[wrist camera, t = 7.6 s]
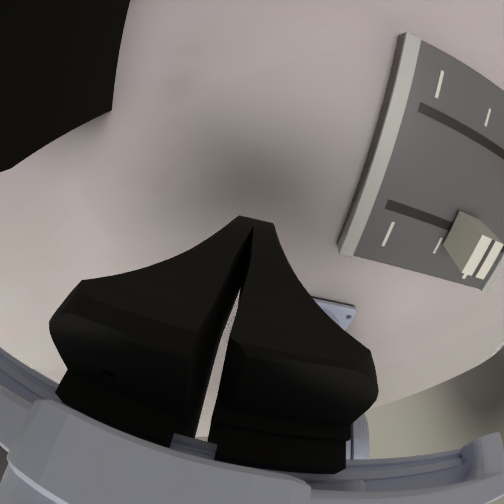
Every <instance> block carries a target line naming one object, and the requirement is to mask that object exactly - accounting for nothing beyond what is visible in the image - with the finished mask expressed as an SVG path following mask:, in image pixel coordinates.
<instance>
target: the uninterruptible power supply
mask: <svg viewBox="0 0 504 504" xmlns="http://www.w3.org/2000/svg"><path fill="white" fill-rule="evenodd" d="M129 3H130V0H0V172H2V171H5V170H8V169H10V168H12V167H14V166H15V165H16V164H18V163H19V162H21V161H22V160H24V159H25V158H27V157H28V156H30V155H31V154H33V153H34V152H36V151H37V150H39V149H41V148H42V147H44V146H45V145H47V144H49V143H50V142H52V141H54V140H55V139H57V138H59V137H60V136H62V135H64V134H66V133H68V132H69V131H71V130H73V129H75V128H77V127H79V126H80V125H82V124H84V123H86V122H88V121H90V120H92V119H94V118H96V117H98V116H100V115H102V114H104V113H107V112H109V111H111V110H112V102H113V92H114V83H115V76H116V68H117V62H118V56H119V50H120V44H121V39H122V34H123V29H124V24H125V20H126V15H127V11H128V7H129Z"/></svg>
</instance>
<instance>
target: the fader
mask: <svg viewBox="0 0 504 504" xmlns="http://www.w3.org/2000/svg"><path fill="white" fill-rule="evenodd" d="M503 245H504V244H503V243H502V242H501V241H500V240H499V239H498V237H497V236H496V235H495V234H494V233H493V232H492V231H491V230H490V229H489V228H488V227H487V226H486V225H485V224H484V223H483V222H482V221H481V220H480V219H477V218H475V217H473V216H471V215H469V214H466V213H464V212H462V211H459V213H458V215H457V217H456V219H455V222H454V224H453V226H452V228H451V230H450V232H449V234H448V236H447V238H446V240H445V242H444V244H443V246H444V247H445V249H446V250H447V252H448V253H449V255H450V256H451V257H452V259H453V261H454V262H455V264H456V265H457V267H458V268H459V270H460V271H461V273H464V274H467V275H470V276H472V277H477V278H480V279H483V280H484V278H485V276H486V275H487V273H488V271H489V270H490V268H491V266H492V265H493V263H494V261H495V259H496V258H497V256H498V254H499V252H500V250H501V249H502V247H503Z"/></svg>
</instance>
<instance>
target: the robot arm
mask: <svg viewBox="0 0 504 504" xmlns="http://www.w3.org/2000/svg"><path fill="white" fill-rule="evenodd" d="M240 287H241V288H240ZM239 290H240V295H239V302H238V309H237V313H236V316H235V320H234V323H233V326H232V330H231V333H230V336H229V341H228V346H227V351H226V356H225V361H224V365H223V370H222V375H221V380H220V385H219V390H218V395H217V399H216V403H215V407H214V411H213V415H212V419H211V426H210V431H209V436H208V442H206V441H202V440H198V439H195V435H196V431H197V427H198V423H199V419H200V415H201V411H202V407H203V403H204V399H205V395H206V391H207V388H208V384H209V380H210V376H211V372H212V368H213V365H214V361H215V357H216V354H217V350H218V346H219V343H220V340H221V337H222V334H223V331H224V329H225V326H226V323H227V321H228V318H229V316H230V313H231V311H232V308H233V305H234V303H235V300H236V298H237V295H238V293H239ZM355 314H356V308H355V307H353V306H349V305H344V304H339V303H334V302H329V301H324V300H320V299H315V298H312V297H311V296H310V295H309V293H308V292H307V291H306V290H305V288H304V287H303V285H302V284H301V282H300V281H299V280H298V278H297V276H296V275H295V273H294V271H293V270H292V268H291V266H290V264H289V262H288V260H287V258H286V256H285V254H284V252H283V249H282V247H281V245H280V242H279V239H278V236H277V233H276V230H275V226H274V224H273V223H270V222H265V221H261V220H257V219H252V218H248V217H243V216H238V217H236V218H235V219H234V220H232V221H231V222H230V223H229V224H227V225H226V226H225V227H224V228H222V229H221V230H220V231H218V232H217V233H215V234H214V235H213V236H211V237H210V238H208V239H207V240H205V241H203V242H202V243H200V244H198V245H197V246H195V247H193V248H192V249H190V250H188V251H186V252H184V253H182V254H180V255H177V256H175V257H173V258H170V259H168V260H165V261H162V262H159V263H157V264H154V265H151V266H148V267H145V268H142V269H138V270H135V271H131V272H127V273H122V274H118V275H113V276H107V277H101V278H95V279H89V280H82V281H81V282H80V283H79V284H78V285H77V286H76V287H75V288H74V289H73V290H72V292H71V293H70V294H69V295H68V297H67V298H66V299H65V300H64V302H63V303H62V304H61V305H60V307H59V308H58V309H57V311H56V312H55V313H54V315H53V316H52V318H51V319H50V321H49V330H50V334H51V337H52V340H53V342H54V344H55V346H56V348H57V350H58V352H59V354H60V356H61V358H62V360H63V361H64V363H65V365H66V367H67V369H68V370H67V372H66V373H65V375H64V377H63V379H62V380H61V382H60V384H57V383H55V382H53V381H51V380H50V379H48V378H46V377H44V376H43V375H41V374H39V373H38V372H36V371H34V370H33V369H31V368H30V367H28V366H27V365H25V364H23V363H22V362H20V361H19V360H17V359H16V358H14V357H13V356H11V355H10V354H9V353H7V352H6V351H4V350H3V349H1V348H0V445H1V446H2V447H3V448H4V449H5V450H6V451H7V452H8V455H7V460H8V462H9V464H8V466H7V468H6V471H5V473H4V476H3V478H2V480H1V483H0V504H489V503H491V502H492V501H495V500H496V499H498V498H500V497H502V496H504V451H503V446H502V441H501V437H500V433H498V432H497V433H493V434H489V435H485V436H481V437H478V438H476V439H474V440H472V441H470V442H469V443H467V444H466V445H464V446H463V447H462V448H461V449H457V450H452V451H446V452H440V453H434V454H427V455H419V456H411V457H400V458H387V459H369V431H368V423H367V418H366V415H365V414H364V413H365V412H366V411H367V410H368V409H369V408H370V407H371V406H372V405H373V403H374V402H375V401H376V399H377V396H378V392H379V391H378V384H377V376H376V370H375V366H374V362H373V359H372V355H371V351H370V350H369V349H367V348H366V347H365V346H364V345H362V344H361V343H360V342H358V341H357V340H356V339H355V338H353V337H352V336H351V335H349V334H348V333H347V332H346V330H347V328H348V326H349V325H350V323H351V321H352V319H353V318H354V316H355ZM347 315H349V316H347Z"/></svg>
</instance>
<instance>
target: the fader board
mask: <svg viewBox="0 0 504 504" xmlns="http://www.w3.org/2000/svg"><path fill="white" fill-rule="evenodd" d="M459 211H462V212H464V213H466V214H469V215H471V216H473V217H475V218H477V219H480V220H481V221H482V222H483V223H484V224H485V225H486V226H487V227H488V228H489V229H490V230H491V231H492V232H493V233H494V234H495V235H496V236H497V237H498V239H499V240H500V241H501V242H502V243H503V244H504V91H503V90H502V89H501V88H499V87H498V86H497V85H495V84H494V83H492V82H491V81H490V80H488V79H487V78H485V77H484V76H482V75H481V74H479V73H478V72H476V71H475V70H473V69H472V68H470V67H469V66H467V65H466V64H464V63H462V62H461V61H459V60H457V59H456V58H454V57H452V56H450V55H449V54H447V53H445V52H443V51H442V50H440V49H438V48H436V47H434V46H432V45H430V44H428V43H426V42H424V41H422V40H421V38H419V37H417V36H415V35H412V34H410V33H408V32H406V33H403V34H401V35H399V37H398V42H397V47H396V52H395V56H394V61H393V65H392V70H391V74H390V78H389V82H388V86H387V90H386V94H385V98H384V102H383V105H382V109H381V113H380V116H379V120H378V123H377V127H376V130H375V134H374V137H373V140H372V144H371V147H370V150H369V153H368V157H367V160H366V163H365V166H364V169H363V172H362V175H361V178H360V181H359V184H358V187H357V190H356V193H355V196H354V199H353V202H352V204H351V207H350V210H349V213H348V216H347V218H346V221H345V224H344V226H343V229H342V232H341V234H340V237H339V240H338V242H337V245H338V250H339V254H340V255H345V256H349V257H352V256H357V257H361V258H365V259H369V260H373V261H377V262H381V263H385V264H389V265H393V266H396V267H400V268H404V269H408V270H412V271H415V272H419V273H423V274H427V275H431V276H434V277H438V278H442V279H445V280H449V281H453V282H456V283H460V284H464V285H467V286H471V287H474V288H478V289H480V290H481V291H483V292H486V293H488V291H489V290H490V288H491V287H492V285H493V284H494V282H495V281H496V279H497V277H498V276H499V274H500V273H501V271H502V269H503V268H504V245H503V247H502V249H501V250H500V252H499V254H498V256H497V258H496V259H495V261H494V263H493V265H492V266H491V268H490V270H489V271H488V273H487V275H486V276H485V278H484V280H483V279H480V278H477V277H472V276H470V275H467V274H464V273H461V271H460V270H459V268H458V267H457V265H456V264H455V262H454V261H453V259H452V257H451V256H450V255H449V253H448V252H447V250H446V249H445V247H444V246H443V244H444V242H445V240H446V238H447V236H448V234H449V232H450V230H451V228H452V226H453V224H454V222H455V219H456V217H457V215H458V213H459Z"/></svg>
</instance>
